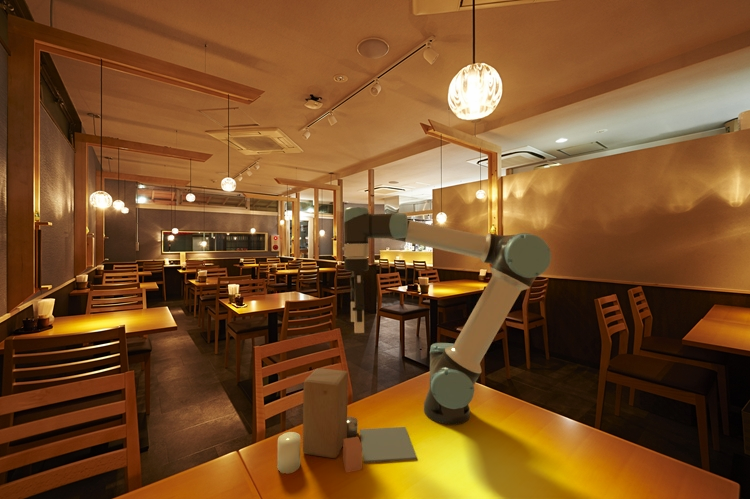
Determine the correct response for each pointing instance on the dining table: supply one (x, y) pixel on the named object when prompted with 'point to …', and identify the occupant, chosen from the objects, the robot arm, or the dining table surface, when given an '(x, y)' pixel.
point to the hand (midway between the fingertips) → (357, 326)
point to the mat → (386, 445)
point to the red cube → (352, 454)
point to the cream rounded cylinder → (288, 452)
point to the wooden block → (325, 412)
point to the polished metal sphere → (351, 427)
